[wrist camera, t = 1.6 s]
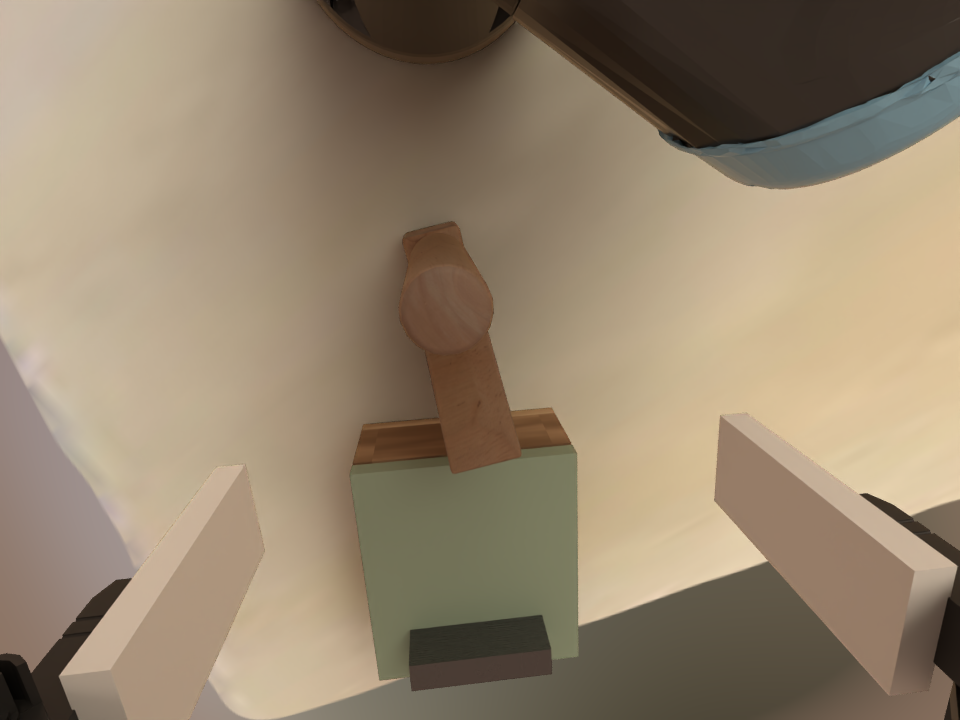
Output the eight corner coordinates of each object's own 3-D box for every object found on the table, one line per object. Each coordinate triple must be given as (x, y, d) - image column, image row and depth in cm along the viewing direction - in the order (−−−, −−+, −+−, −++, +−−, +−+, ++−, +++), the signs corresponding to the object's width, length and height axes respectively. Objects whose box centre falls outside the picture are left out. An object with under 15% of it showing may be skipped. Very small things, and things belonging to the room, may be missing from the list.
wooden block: (443, 380, 40) (455, 522, 23) (402, 233, 37) (382, 273, 20) (492, 367, 40) (540, 500, 23) (456, 219, 37) (481, 247, 20)
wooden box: (363, 424, 41) (352, 463, 35) (551, 407, 42) (571, 442, 36) (387, 603, 46) (381, 663, 40) (555, 584, 47) (573, 640, 41)
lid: (352, 465, 35) (342, 501, 31) (572, 444, 36) (590, 477, 32) (380, 666, 40) (375, 720, 36) (574, 643, 41) (590, 693, 37)
